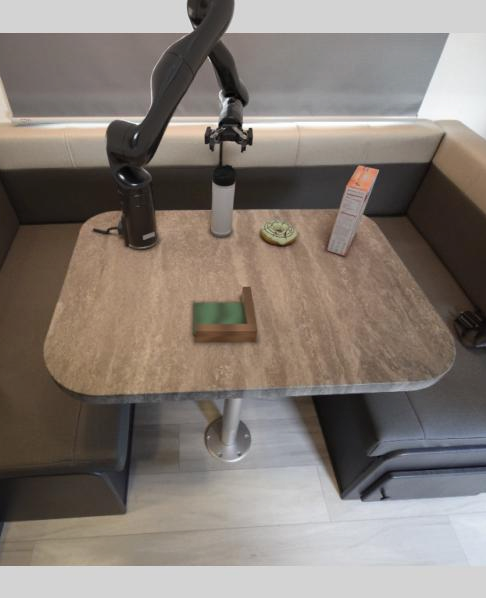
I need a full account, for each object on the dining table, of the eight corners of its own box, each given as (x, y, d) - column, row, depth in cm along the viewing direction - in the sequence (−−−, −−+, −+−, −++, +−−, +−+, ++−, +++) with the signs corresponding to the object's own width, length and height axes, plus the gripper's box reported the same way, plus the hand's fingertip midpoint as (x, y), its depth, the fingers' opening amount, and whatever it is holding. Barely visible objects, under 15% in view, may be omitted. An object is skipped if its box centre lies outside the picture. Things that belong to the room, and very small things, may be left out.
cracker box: (337, 227, 112) (358, 163, 97) (356, 233, 110) (381, 169, 95) (324, 250, 103) (345, 184, 88) (344, 257, 101) (370, 190, 86)
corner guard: (193, 342, 79) (193, 330, 76) (193, 297, 88) (193, 286, 86) (255, 342, 79) (257, 330, 76) (249, 297, 89) (250, 286, 86)
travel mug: (234, 228, 110) (240, 167, 96) (226, 239, 106) (231, 177, 92) (216, 223, 112) (219, 162, 98) (207, 234, 108) (209, 171, 93)
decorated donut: (285, 252, 102) (288, 242, 100) (253, 239, 106) (255, 229, 104) (300, 235, 108) (303, 225, 106) (270, 223, 112) (271, 213, 110)
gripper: (207, 108, 107) (202, 135, 98) (254, 109, 106) (253, 137, 96) (208, 132, 113) (203, 160, 104) (252, 134, 112) (251, 162, 102)
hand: (227, 149), depth 100 cm, fingers open, 8 cm apart
